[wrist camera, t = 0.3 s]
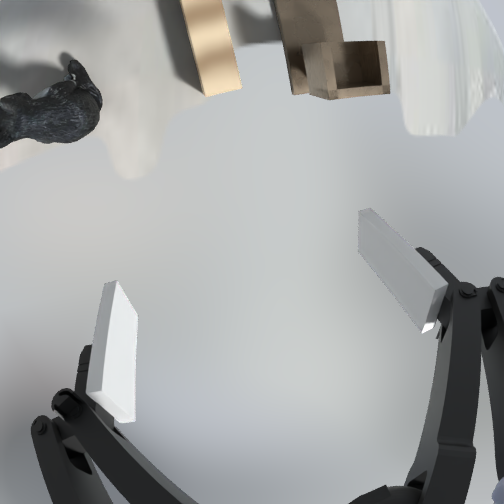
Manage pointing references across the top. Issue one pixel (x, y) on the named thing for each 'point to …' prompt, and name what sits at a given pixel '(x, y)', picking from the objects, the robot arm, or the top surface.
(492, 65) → the top surface
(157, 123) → the top surface
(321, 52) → the bracket
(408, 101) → the top surface
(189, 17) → the rail
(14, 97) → the figurine
